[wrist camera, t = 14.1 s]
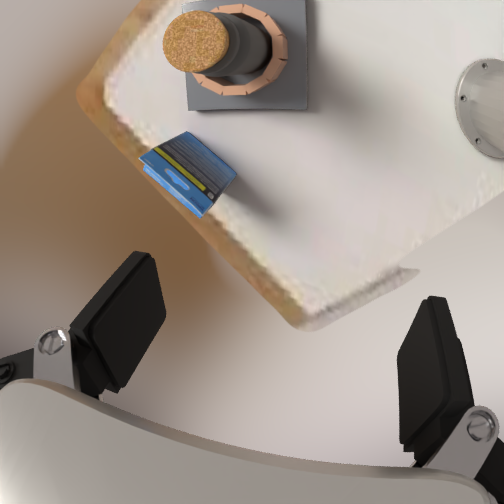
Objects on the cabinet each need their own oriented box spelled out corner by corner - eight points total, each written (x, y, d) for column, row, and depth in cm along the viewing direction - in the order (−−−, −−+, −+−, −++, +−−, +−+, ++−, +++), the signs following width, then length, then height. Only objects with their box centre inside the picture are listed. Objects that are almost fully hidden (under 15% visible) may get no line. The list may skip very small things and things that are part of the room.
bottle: (214, 63, 31) (145, 67, 19) (232, 19, 28) (171, -5, 16) (260, 81, 31) (216, 91, 19) (281, 36, 28) (248, 15, 16)
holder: (305, -4, 26) (301, -16, 21) (307, 108, 33) (303, 114, 29) (187, 5, 28) (166, -1, 24) (193, 108, 36) (173, 116, 32)
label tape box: (172, 150, 40) (120, 184, 30) (188, 128, 38) (138, 155, 28) (221, 192, 42) (184, 239, 32) (239, 172, 40) (206, 214, 30)
